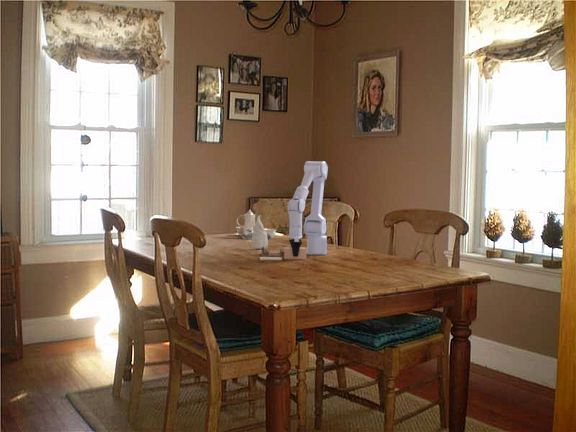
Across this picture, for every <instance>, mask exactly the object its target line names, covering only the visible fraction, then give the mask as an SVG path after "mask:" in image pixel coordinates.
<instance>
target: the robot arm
mask: <svg viewBox="0 0 576 432" xmlns="http://www.w3.org/2000/svg"><path fill="white" fill-rule="evenodd" d="M328 169H329V166H328V164H327V162H326V161H313V160H312V161H311V160H310V161H309V160H307V161H305V162H304V165H303V171H304V174H303V177H302V181H301V184H300V185H299V186H297V187H296V190H295V191H294V194H293V197H292V198H291V199H290V200H289V201H287V205H286V209H287V212H288V216H289V221H288V222H289V226H288V227H289V228H288V229H289V230H288V231H289V232H288V235H286V238H290V239H288V241H289V244H290V246H291V247H292V253H293V256H298V254H299V249H300V247H301V246H302V244H303V241H302V239H301V238H303V232H304V233H305V235H306V236H307V237H306V240H307V242H306V255H328V254H327V251H328V247H327V246H328V245H327V244H328V239H327V238H328V237H327V235H325V234H326V232H327V219H326V218H325V217H324V216H323V215H322V209H323V199H324V189H325V188H324V187H325V181H326V180H327V177H328ZM312 182H313V185H312V195H311V206H310V214H309V215H307V216H306V217H305V218H304V219H305V221H304V224H303V212H304V211H305V209H306V208H305V207H306V199H307V197H308V195H309V193H310V191H309V187H310V186H311V183H312Z"/></svg>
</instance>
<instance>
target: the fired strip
mask: <svg viewBox="0 0 576 432" xmlns="http://www.w3.org/2000/svg"><path fill="white" fill-rule="evenodd" d="M259 260H260V261H261V260H262V261H264V260H265V261H282V260H283V257H262V256H259Z"/></svg>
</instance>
